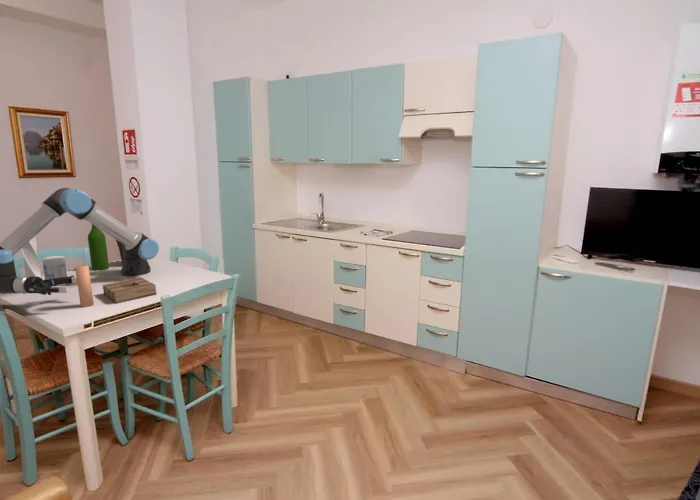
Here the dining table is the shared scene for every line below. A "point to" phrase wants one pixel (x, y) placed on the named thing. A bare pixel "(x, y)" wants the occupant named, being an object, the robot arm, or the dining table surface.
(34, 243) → the skyscraper
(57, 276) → the supplement tub
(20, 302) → the dining table surface
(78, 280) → the peg
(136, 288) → the socket block
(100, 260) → the wine bottle
